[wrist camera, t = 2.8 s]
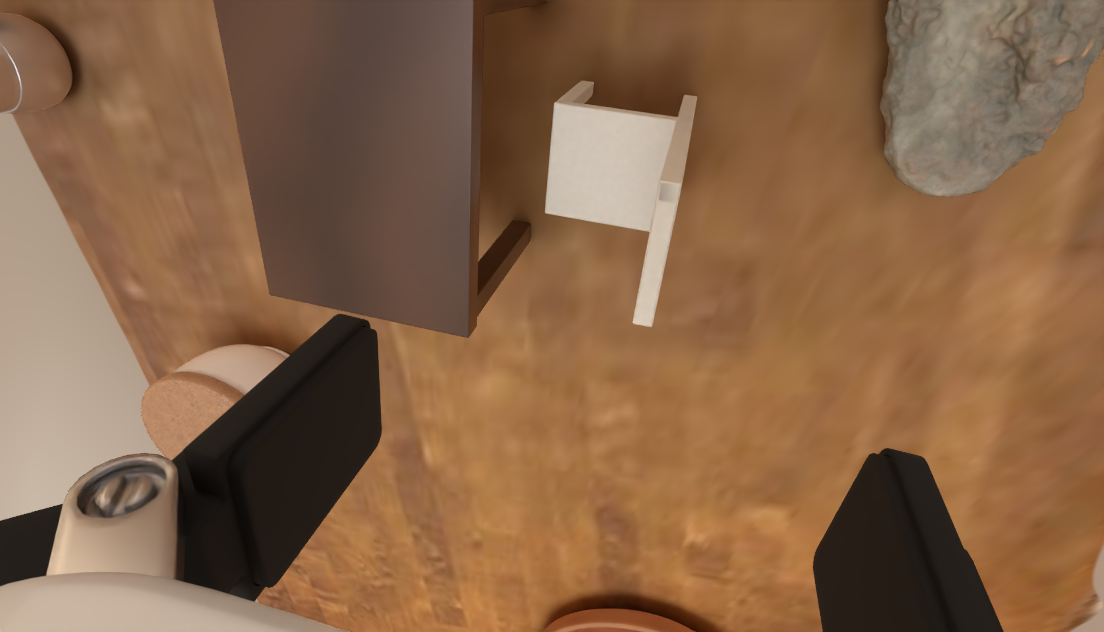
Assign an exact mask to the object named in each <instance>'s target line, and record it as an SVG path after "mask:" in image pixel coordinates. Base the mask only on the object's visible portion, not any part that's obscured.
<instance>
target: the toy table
mask: <svg viewBox="0 0 1104 632" xmlns="http://www.w3.org/2000/svg"><path fill="white" fill-rule="evenodd" d="M213 1H214V6H215V11H216V17H217V22H218V27H219V32H220V38H221V43H222V48H223V53H224V58H225V64H226V69H227V74H228V79H229V85H230V90H231V95H232V100H233V105H234V111H235V116H236V121H237V126H238V132H239V137H240V142H241V147H242V152H243V158H244V163H245V168H246V173H247V179H248V184H249V189H250V194H251V199H252V205H253V210H254V215H255V220H256V226H257V231H258V236H259V241H260V247H261V252H262V257H263V262H264V267H265V273H266V278H267V283H268V288H269V294H270V295H272V296H277V297H282V298H286V299H291V300H295V301H300V302H305V303H309V304H314V305H319V306H323V307H328V308H332V309H337V310H342V311H346V312H351V313H355V314H360V315H365V316H369V317H374V318H379V319H383V320H388V321H392V322H397V323H402V324H406V325H411V326H415V327H420V328H425V329H429V330H434V331H438V332H443V333H448V334H452V335H457V336H462V337H466V338H469V336H470V335H471V334H472V332H473V331H474V329H475V328H476V326H477V316H478V315H479V313H480V312H481V311H482V309H483V308H484V306H485V305H486V303H487V302H488V300H489V299H490V298H491V296H492V295H493V293H494V292H495V290H496V289H497V288H498V286H499V285H500V283H501V282H502V280H503V279H504V278H505V276H506V275H507V273H508V272H509V270H510V269H511V268H512V266H513V265H514V263H515V262H516V260H517V259H518V257H519V256H520V255H521V253H522V252H523V250H524V249H525V247H526V246H527V245H528V243H529V242H530V232H531V224H529V223H524V222H518V221H512V222H511V223H510V224H509V225H508V226H507V228H506V229H505V230H504V231H503V233H502V234H501V235H500V236H499V237H498V239H497V240H496V241H495V242H494V243H493V245H492V246H491V247H490V248H489V250H488V251H487V252H486V253H485V254H484V256H483V257H482V258H481V259H480V260H479V262H478V249H479V206H480V164H481V122H482V80H483V38H484V15H486V14H491V13H496V12H502V11H507V10H512V9H517V8H522V7H527V6H532V5H537V4H543V3H547V2H548V0H213Z"/></svg>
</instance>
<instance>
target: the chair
mask: <svg viewBox="0 0 1104 632" xmlns="http://www.w3.org/2000/svg"><path fill="white" fill-rule="evenodd" d="M593 87H594V82H590V81H583V80H582V81H580V82H579V83H578V84H577V85H575V86H574V87H573V88H572V89H571V90H569V91H568V92H567V93H566V94H564V95H563V96H562V97H561V98H559V99H558V100H557V101H556V102H555V103H554V109H553V121H552V133H551V144H550V156H549V167H548V179H547V191H546V202H545V213H546V214H552V215H557V216H563V217H569V218H574V219H580V220H586V221H591V222H597V223H603V224H608V225H614V226H619V227H625V228H631V229H636V230H642V231H648V232H650V233H649V238H648V244H647V249H646V254H645V259H644V265H643V270H642V275H641V280H640V286H639V291H638V296H637V301H636V307H635V312H634V317H633V324H638V325H643V326H648V327H652V325H653V320H654V315H655V311H656V306H657V301H658V297H659V292H660V287H661V282H662V278H663V273H664V268H665V263H666V259H667V254H668V249H669V245H670V240H671V235H672V230H673V226H674V221H675V216H676V212H677V207H678V202H679V197H680V193H681V188H682V183H683V177H684V171H685V166H686V160H687V154H688V148H689V143H690V137H691V131H692V126H693V120H694V114H695V108H696V103H697V96H691V95H684V96H683V100H682V103H681V107H680V110H679V114H678V117H672V116H665V115H658V114H651V113H644V112H638V111H631V110H624V109H617V108H610V107H603V106H596V105H589V104H584V103H585V102H586V101H587V100H588V99H589V98H590V97H591V96H592V95H593Z"/></svg>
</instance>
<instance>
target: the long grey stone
mask: <svg viewBox="0 0 1104 632" xmlns="http://www.w3.org/2000/svg"><path fill="white" fill-rule="evenodd" d="M885 23H886V28H887V36H886V38H887V44H888V46H889V48H890V53H889V55H888V67H887V71H886V73H887V74H886V77H885V78H884V81H883V87H882V91H883V97H882V99H881V102H880V110H881V112H882V114H883V116H884V121H885V125H886V130H885V137H886V141H885V145H884V155H885V157H886V159H887V161H888V163H889V164H890V165H891V166H892V167H893V168H894V170H895V176H896V177H897V178H898V179H899V180H900V181H902V182H903V183H904V184H906V185H907V186H909V187H911V188H912V189H914V190H915V191H917V192H918V193H923V194H927V195H931V196H936V197H940V196H941V197H945V196H949V197H953V196H958V195H967V194H969V193H976V192H980V191H982V190H985V189H987V188H988V187H989V185H990V184H991V183H992V182H993V181H994V180H996V179H997V178H999V177H1000V176H1001V175H1002V174H1004V172H1005V171H1007V170H1008V169H1009V168H1011V167H1014V166H1015V165H1017V164H1018V163H1019V162H1020V161H1021V160H1022V158H1024V157H1027V156H1032V155H1035V154H1037V153H1038V152H1039V151H1041V150H1042V149H1043V147H1044V144H1045V142H1046V140H1047V139H1048V138H1049V137H1050V136H1051V135H1053V134H1054V133H1055V132H1056V131H1057V129H1058V128H1059V127H1060V126H1061V122H1062V119H1063V116H1064V115H1065V113H1067V112H1070V111H1074V110H1075V109H1077V108H1078V106H1079V104H1080V101H1081V100H1082V98H1083V96H1084V85H1085V82H1086V74H1087V72H1088V69H1089V67H1090V65H1091V64H1092V63H1093V62H1094V61H1095V60H1096V59H1098V57H1099V55H1100V53H1101V51H1102V49H1103V45H1104V0H889V2H888V9H887V13H886V15H885Z"/></svg>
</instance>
